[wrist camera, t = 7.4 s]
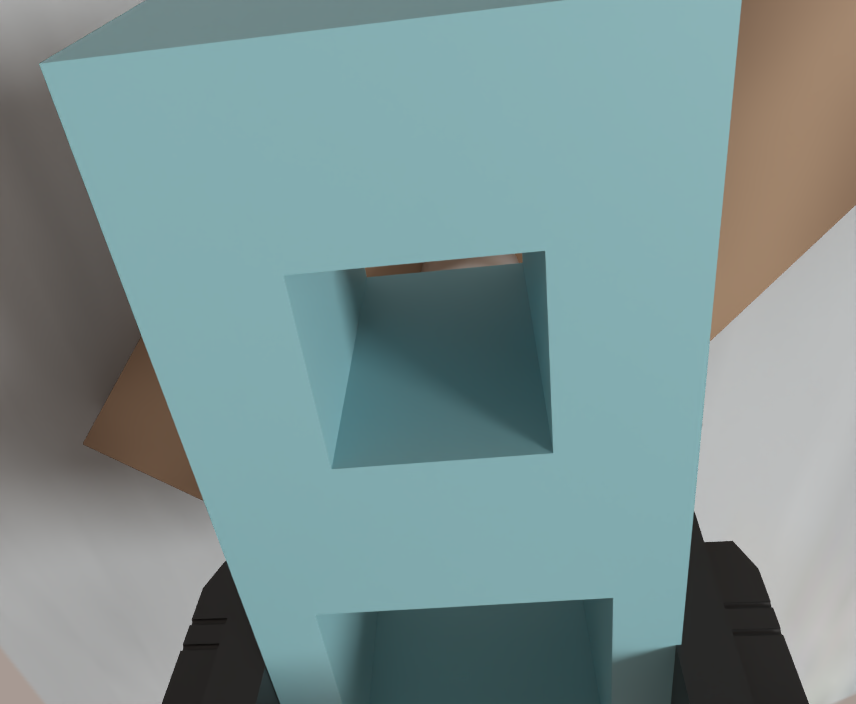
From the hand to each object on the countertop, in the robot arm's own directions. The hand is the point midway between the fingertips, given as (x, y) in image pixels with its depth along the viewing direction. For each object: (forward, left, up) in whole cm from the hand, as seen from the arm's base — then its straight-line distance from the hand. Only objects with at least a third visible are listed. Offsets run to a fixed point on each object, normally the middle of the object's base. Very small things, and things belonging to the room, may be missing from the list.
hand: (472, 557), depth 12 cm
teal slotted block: (-1, +1, -2) cm, 2 cm away
